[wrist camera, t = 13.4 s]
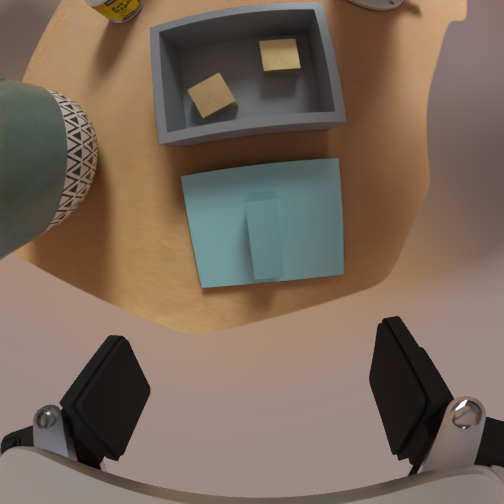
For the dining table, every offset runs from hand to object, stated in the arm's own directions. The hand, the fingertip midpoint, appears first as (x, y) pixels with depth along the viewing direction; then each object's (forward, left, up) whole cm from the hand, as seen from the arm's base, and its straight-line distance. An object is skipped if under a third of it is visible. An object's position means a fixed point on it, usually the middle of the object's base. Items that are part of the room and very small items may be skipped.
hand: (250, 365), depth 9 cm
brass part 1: (+4, -15, -25) cm, 30 cm away
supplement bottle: (+16, -35, -27) cm, 47 cm away
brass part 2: (-4, -19, -25) cm, 32 cm away
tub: (0, -17, -26) cm, 31 cm away
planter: (+27, -13, -27) cm, 40 cm away
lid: (0, +1, -27) cm, 27 cm away
